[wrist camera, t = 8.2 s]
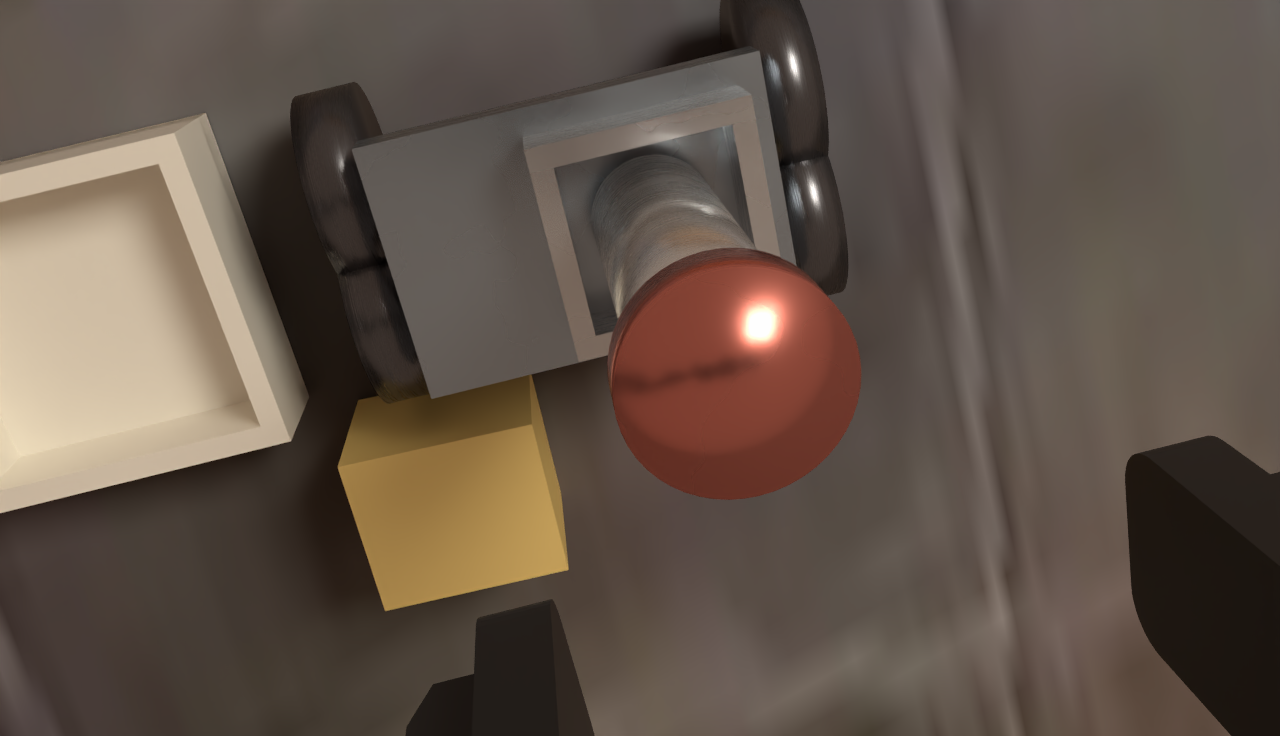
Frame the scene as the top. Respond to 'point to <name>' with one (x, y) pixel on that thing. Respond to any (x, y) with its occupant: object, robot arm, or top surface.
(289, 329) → the top surface
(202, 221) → the tray
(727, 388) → the pin
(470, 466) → the block
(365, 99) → the trolley
